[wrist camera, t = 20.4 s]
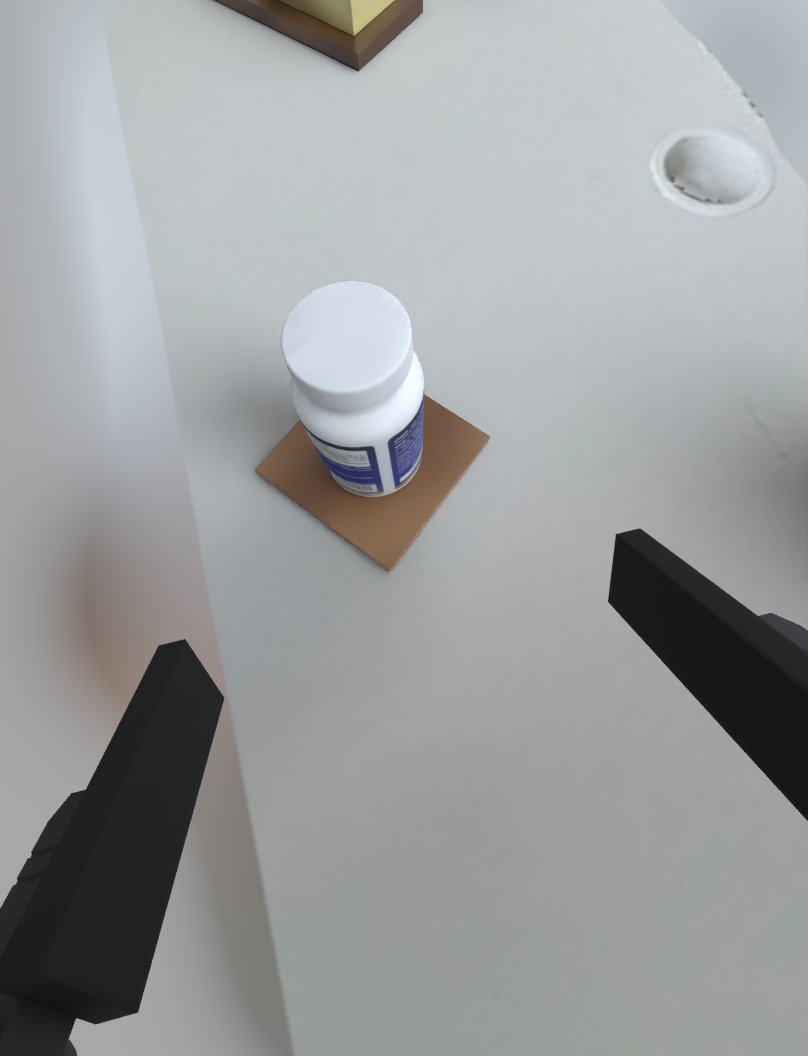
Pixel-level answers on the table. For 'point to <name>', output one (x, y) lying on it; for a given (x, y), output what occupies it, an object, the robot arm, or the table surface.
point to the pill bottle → (357, 385)
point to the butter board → (331, 35)
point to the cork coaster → (385, 519)
